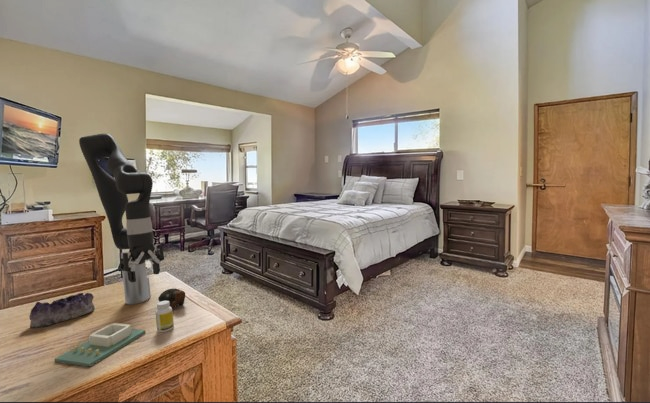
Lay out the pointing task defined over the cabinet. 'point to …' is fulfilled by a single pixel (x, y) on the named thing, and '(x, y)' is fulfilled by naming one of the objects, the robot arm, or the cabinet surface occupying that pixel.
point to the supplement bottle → (164, 316)
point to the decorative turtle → (173, 297)
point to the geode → (61, 310)
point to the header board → (101, 344)
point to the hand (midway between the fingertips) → (145, 277)
